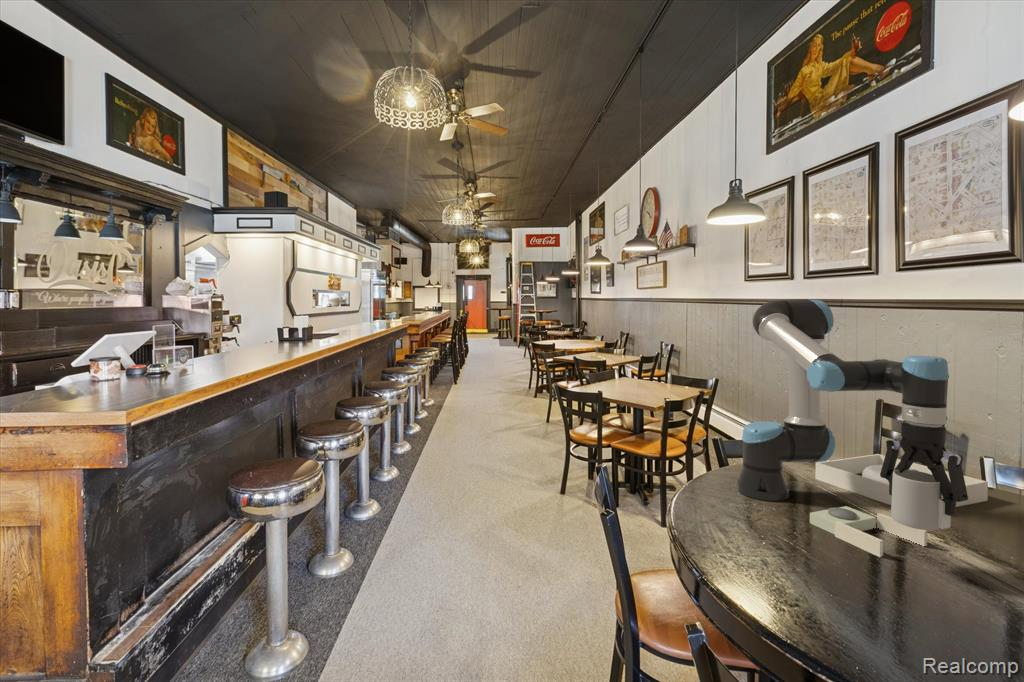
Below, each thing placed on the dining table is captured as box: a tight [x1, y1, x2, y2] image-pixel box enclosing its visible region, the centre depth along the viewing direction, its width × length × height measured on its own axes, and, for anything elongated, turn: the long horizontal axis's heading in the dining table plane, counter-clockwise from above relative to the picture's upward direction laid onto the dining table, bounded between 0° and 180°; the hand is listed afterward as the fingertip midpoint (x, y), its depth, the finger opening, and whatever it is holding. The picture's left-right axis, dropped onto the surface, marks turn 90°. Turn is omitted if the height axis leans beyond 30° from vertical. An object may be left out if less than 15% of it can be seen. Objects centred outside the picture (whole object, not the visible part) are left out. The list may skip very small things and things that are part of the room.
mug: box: [890, 470, 942, 532], centre depth 102 cm, size 12×8×11 cm
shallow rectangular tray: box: [814, 453, 989, 508], centre depth 147 cm, size 32×32×6 cm
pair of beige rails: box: [809, 505, 928, 558], centre depth 117 cm, size 19×16×4 cm
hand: (919, 518), depth 102 cm, fingers closed on mug, 8 cm apart
